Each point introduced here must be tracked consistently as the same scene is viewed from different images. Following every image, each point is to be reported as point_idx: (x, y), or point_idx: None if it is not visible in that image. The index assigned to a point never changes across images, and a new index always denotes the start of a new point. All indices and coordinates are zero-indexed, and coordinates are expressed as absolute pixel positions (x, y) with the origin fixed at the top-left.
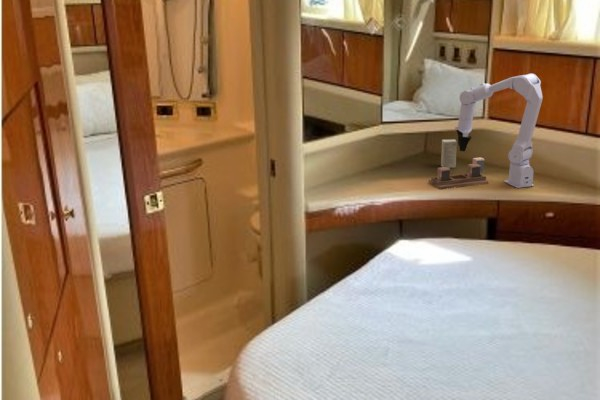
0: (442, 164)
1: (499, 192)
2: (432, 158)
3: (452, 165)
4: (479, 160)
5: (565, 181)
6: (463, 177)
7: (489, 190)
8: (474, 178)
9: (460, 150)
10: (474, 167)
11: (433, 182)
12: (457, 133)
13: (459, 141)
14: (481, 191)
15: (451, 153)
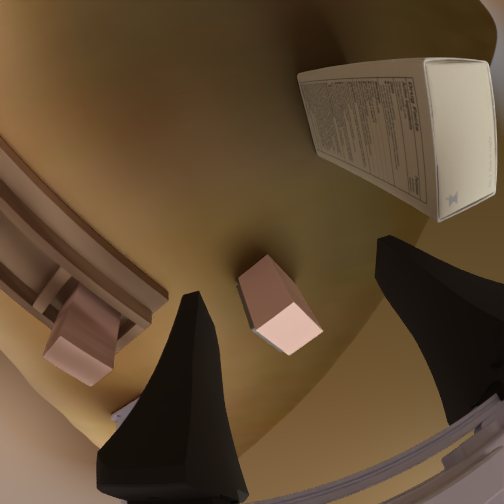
0: (304, 74)
1: (39, 384)
2: (443, 32)
3: (317, 138)
4: (267, 336)
5: (239, 455)
6: (55, 271)
7: (32, 361)
8: (52, 327)
9: (182, 304)
10: (54, 362)
11: None
12: (499, 289)
13: (140, 397)
14: (5, 342)
15: (360, 142)
